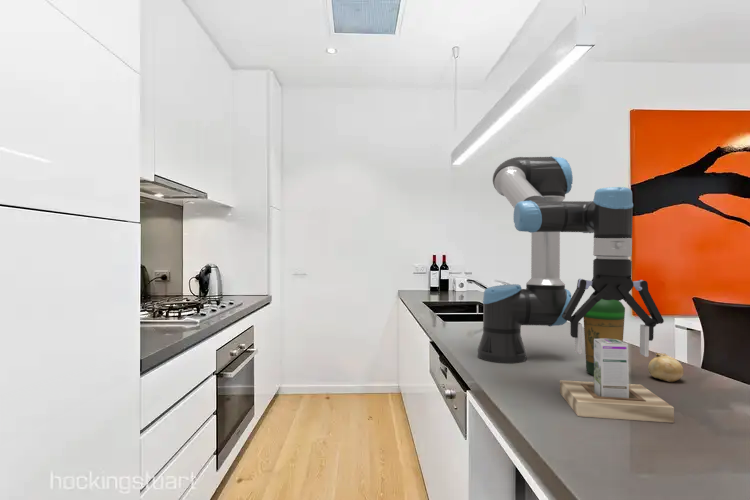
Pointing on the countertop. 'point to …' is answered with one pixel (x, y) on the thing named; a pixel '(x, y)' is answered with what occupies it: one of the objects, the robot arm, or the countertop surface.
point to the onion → (665, 368)
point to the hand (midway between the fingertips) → (610, 353)
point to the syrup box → (611, 368)
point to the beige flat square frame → (616, 403)
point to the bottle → (602, 326)
